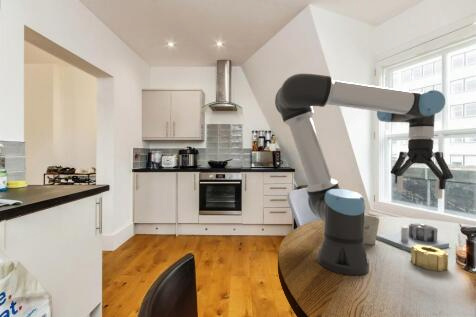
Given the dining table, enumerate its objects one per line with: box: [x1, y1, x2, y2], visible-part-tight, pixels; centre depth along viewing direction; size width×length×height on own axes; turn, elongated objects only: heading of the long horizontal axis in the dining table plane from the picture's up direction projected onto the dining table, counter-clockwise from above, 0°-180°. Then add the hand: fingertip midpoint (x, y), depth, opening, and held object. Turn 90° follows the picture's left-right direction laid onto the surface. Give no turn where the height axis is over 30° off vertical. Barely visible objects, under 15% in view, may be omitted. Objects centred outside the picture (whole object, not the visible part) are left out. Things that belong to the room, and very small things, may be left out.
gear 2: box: [410, 245, 449, 272], centre depth 78 cm, size 9×9×5 cm
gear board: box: [376, 226, 450, 253], centre depth 98 cm, size 20×16×7 cm
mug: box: [363, 214, 380, 246], centre depth 98 cm, size 8×13×10 cm, turn 78°
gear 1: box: [408, 223, 438, 242], centre depth 99 cm, size 9×9×6 cm
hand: (417, 195), depth 91 cm, fingers open, 13 cm apart
